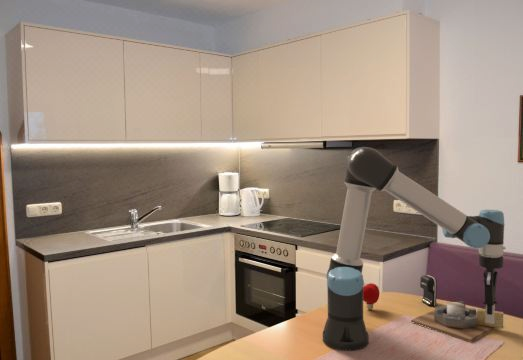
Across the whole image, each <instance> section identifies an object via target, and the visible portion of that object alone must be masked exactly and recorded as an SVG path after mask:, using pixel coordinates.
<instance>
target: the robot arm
mask: <svg viewBox="0 0 523 360" xmlns="http://www.w3.org/2000/svg"><path fill="white" fill-rule="evenodd" d="M343 183H344V185H345V187H346V188H347V190H346V196H345V201H344V207H343V210H342V211H343V212H342V216H341V217H342V218H341V223H340V229H339V234H338V235H339V236H338V240H337V247H336V251H335V253H334V254H332V255H331V256H330V261H329V266H328V267H329V268H328V269H327V272H326V286H327V318H326V321H325V325H324V328H323V331H322V342H323V343H324V345H326V346H327V347H330V348H332V349H335V350H341V351H356V350H357V351H358V350H361V349H364V348H366V347H367V346H369V343H370V337H369V336H370V335H369V333H368V331H367V328H366V324H365V319H364V301H363V287H364V286H365V285H364V284H365V281H364V276H363V267H364V261H363V260H362V259H361V256H362V255H361V254H362V248H363V243H364V238H365V232H366V226H367V221H368V215H369V210H370V205H371V200H372V193H373V192H374V191H376V190H378V191H379V192H384V191H385V192H386V193H388V194H389V195H391V196H392V197H394V198H396V200H399V201H400V202H401V203H403V204H405V205H406V206H408V207H410V208H411V209H412V210H414V211H416V212H417V213H418V214H420V215H422V216H423V217H425V218H426V219H428V220H430V222H433V224H435V225H436V226H437V225H438V226H439V227H440V228H442V234H443V236H444V237H445V238H449V239H459V240H460V241H461V242H463V243H464V244H465V245H467V246H468V247H470V248H473V249H478V254H479V255H478V266H479V267H482V268H485V270H484V271H483V282H484V301H483V302H482V304H483V305H485V309H484V310H485V322H486V323H492V324H494V323H495V311H496V310H495V309H496V306H495V305H496V304H498V301H496V299H497V297H496V296H497V293H496V292H497V283H498V275H499V273H498V271H496V269H497V270H498V269H503V267H504V257H503V255H504V250H506V249H507V248H506V246H504V239H505V235H504V234H505V214H504V212H503V211H501V210H498V209H480V211H479V213H478V215H474V216H473V215H469V216H468V215H467V214H465V213H464V212H462V211H460V210H459V209H457V208H456V207H455V206H453V205H452V204H450V203H449V202H447V201H446V200H444V199H442V198H440V197H439V196H438V195H437V194H434V193H433V192H431V191H430V190H428V189H427V188H426V187H424V186H422V185H420V184H419V183H417V182H416V181H415V180H412V179H411V178H410V177H408V176H406V175H405V174H404V173H403V172H400V170H399V166H397V165H396V164H394V163H392V162H391V161H390V160H389V159H387V158H386V157H385V156H384V155H383V154H382V153H381V152H380V151H378V150H377V149H376V148H373V147H368V146H361V147H357V148H355V149H354V150H353V151H351V152H350V153H349V155H348V156H347V160H346V170H345V176H344V182H343Z"/></svg>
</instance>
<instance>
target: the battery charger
mask: <svg viewBox="0 0 523 360" xmlns="http://www.w3.org/2000/svg"><path fill="white" fill-rule="evenodd" d="M419 283H420V284H419V287H420V288H422V289H423V296H422V298H421V303H423V304H425V305H427V306H429V307H437V291H438V290H437V289H438V288H437V287H438V286H437V279H436V278H435V277H434V276H432V275H429V274H426V275H421V276H420V282H419Z"/></svg>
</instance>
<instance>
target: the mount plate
mask: <svg viewBox="0 0 523 360" xmlns="http://www.w3.org/2000/svg"><path fill="white" fill-rule="evenodd" d="M446 305H447V315H449V316H455V317H458V314H464V315H465V307H466V301H463V300H459V301H456V302H455V301H450V302H447V304H446ZM434 311H435V309H434V310H431V311H428V312H426V313H424V314H422V315H420V316H417V317H415V318H412V319H411V321H410V323H411V322H414V323H417V324H420V325H423V326H426V327H429V328H431V329H430V330H432V329H434V330H433V331H435V330H437V331H436V332H438V331H439V333H441V332H442V333H441V334H444V333H445V335H447V334H448V335H447V336H450V335H451V336H450V337H453V336H454V337H453V338H456V339H459V340H462V341H466V342H468V343H472V342H474V341H476V340H477V339H479V338H480V337H482V336H484V335H486V334H488V333H490V332H491V331H494V330H496V329H497V328H498V327H491V326H484V325H477V327H471V328H465V329H462V328H455V327H449V326H444V325H443V324H441V323H439V322H437V321H435V320H434ZM414 323H413V324H414ZM417 324H416V325H417ZM420 325H419V326H420ZM423 326H422V327H423ZM426 327H425V328H426ZM429 328H428V329H429ZM473 340H474V341H473ZM471 341H472V342H471Z"/></svg>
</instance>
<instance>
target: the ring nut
mask: <svg viewBox="0 0 523 360" xmlns="http://www.w3.org/2000/svg"><path fill="white" fill-rule="evenodd" d="M434 310H435V311H434V320H435V321H437V322H439V323H441V324H443V325H444V326H449V327H455V328H462V329H465V328H471V327H477V325H484V326H491V327H497V328H499V329H503V328H504V312H503V311H497V310H495V323H494V324H492V323H486V322H485V310H486V309H483V308H477V309H476V308H473V307H471V308H468V307H466V306H465V315H464V314H458V317H455V316H449V315H447V304H446V305H438V306H435V309H434Z"/></svg>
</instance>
